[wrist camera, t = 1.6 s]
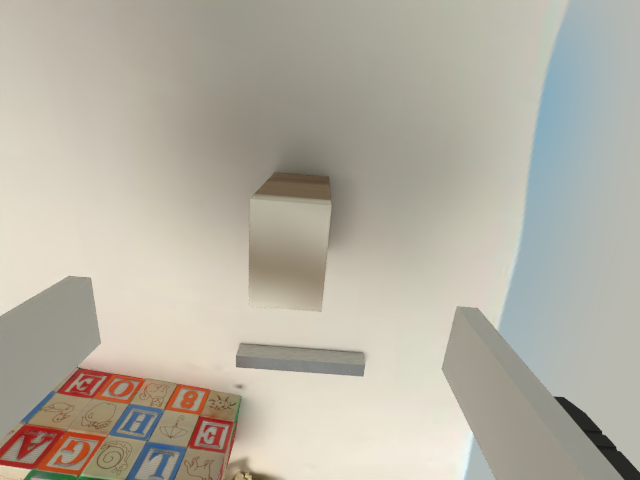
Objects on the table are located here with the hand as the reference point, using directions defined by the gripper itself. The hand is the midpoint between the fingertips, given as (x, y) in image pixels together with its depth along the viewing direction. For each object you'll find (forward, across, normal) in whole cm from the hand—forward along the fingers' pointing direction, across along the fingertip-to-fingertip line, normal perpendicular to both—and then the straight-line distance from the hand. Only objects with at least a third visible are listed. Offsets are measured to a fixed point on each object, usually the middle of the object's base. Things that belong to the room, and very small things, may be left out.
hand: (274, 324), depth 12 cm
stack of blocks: (+15, -15, -20) cm, 29 cm away
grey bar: (+15, +1, -12) cm, 19 cm away
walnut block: (+14, 0, 0) cm, 15 cm away
